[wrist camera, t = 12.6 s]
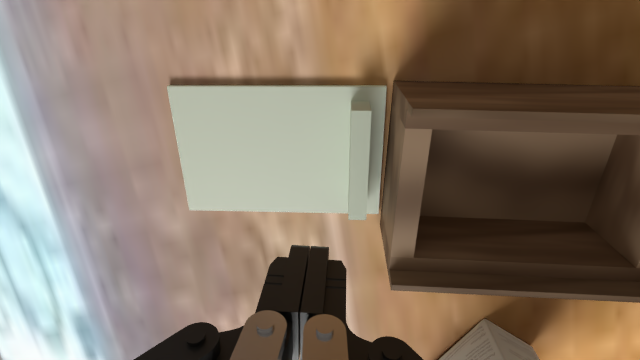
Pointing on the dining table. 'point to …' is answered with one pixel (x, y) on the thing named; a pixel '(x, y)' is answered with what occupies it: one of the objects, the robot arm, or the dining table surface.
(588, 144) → the box
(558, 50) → the dining table surface
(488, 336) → the skincare box
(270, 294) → the robot arm
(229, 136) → the lid
